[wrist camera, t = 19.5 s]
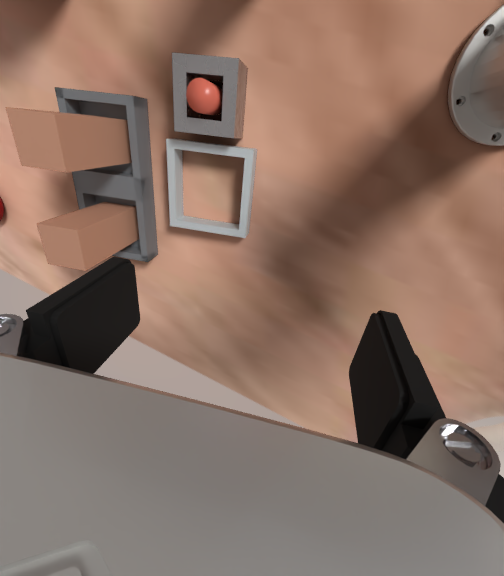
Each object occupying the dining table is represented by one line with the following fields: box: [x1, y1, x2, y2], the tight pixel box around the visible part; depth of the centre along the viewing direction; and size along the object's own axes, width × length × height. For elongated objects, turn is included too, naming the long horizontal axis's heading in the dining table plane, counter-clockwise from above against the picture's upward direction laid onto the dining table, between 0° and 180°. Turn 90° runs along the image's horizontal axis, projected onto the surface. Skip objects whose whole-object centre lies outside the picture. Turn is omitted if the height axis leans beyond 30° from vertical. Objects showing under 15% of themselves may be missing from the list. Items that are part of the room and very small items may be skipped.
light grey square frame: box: [166, 139, 257, 238], centre depth 37 cm, size 11×11×2 cm
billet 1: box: [6, 107, 132, 173], centre depth 32 cm, size 5×5×12 cm
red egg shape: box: [186, 78, 223, 116], centre depth 30 cm, size 3×3×4 cm
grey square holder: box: [172, 53, 248, 138], centre depth 32 cm, size 7×7×4 cm
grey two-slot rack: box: [55, 87, 158, 262], centre depth 39 cm, size 21×10×3 cm, turn 174°
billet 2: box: [37, 202, 139, 271], centre depth 37 cm, size 5×5×12 cm
